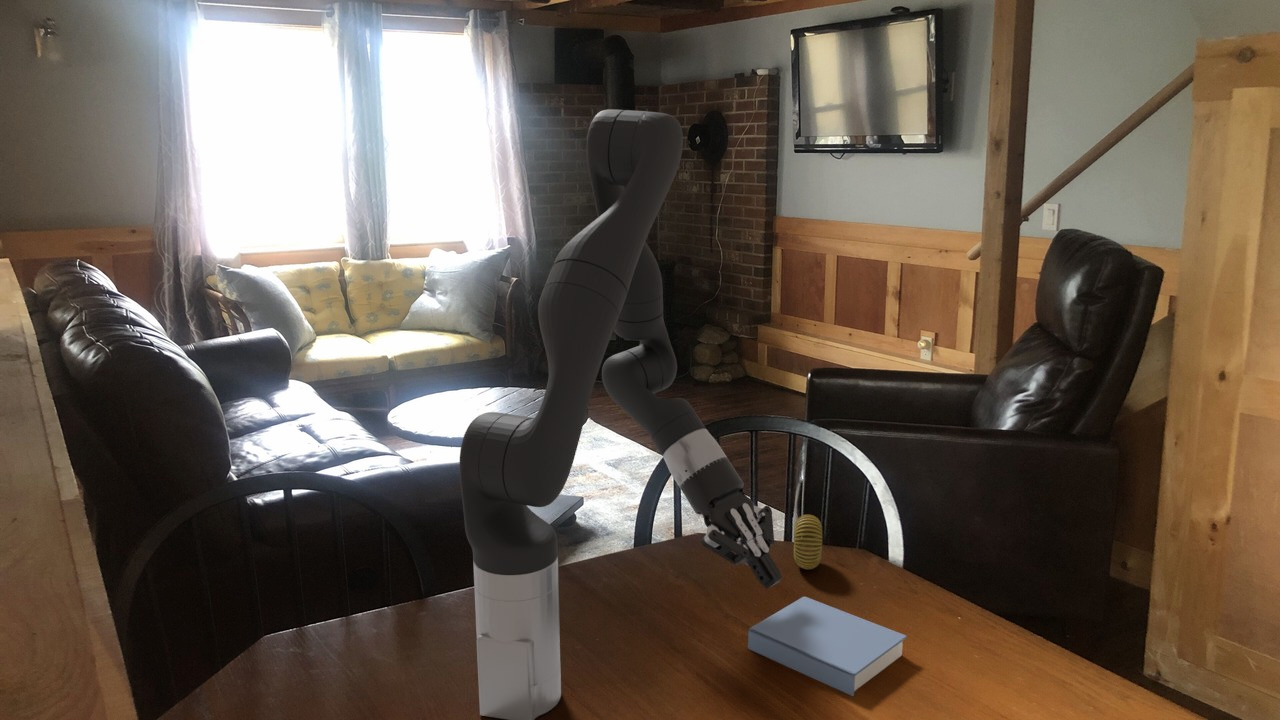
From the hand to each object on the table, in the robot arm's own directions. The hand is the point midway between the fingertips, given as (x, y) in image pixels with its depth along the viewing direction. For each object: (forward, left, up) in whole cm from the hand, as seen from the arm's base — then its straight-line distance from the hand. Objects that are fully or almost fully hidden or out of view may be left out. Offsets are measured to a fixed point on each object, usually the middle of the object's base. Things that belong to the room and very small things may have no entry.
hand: (774, 583), depth 122 cm
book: (0, 0, -5) cm, 5 cm away
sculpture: (+20, -3, -7) cm, 21 cm away
